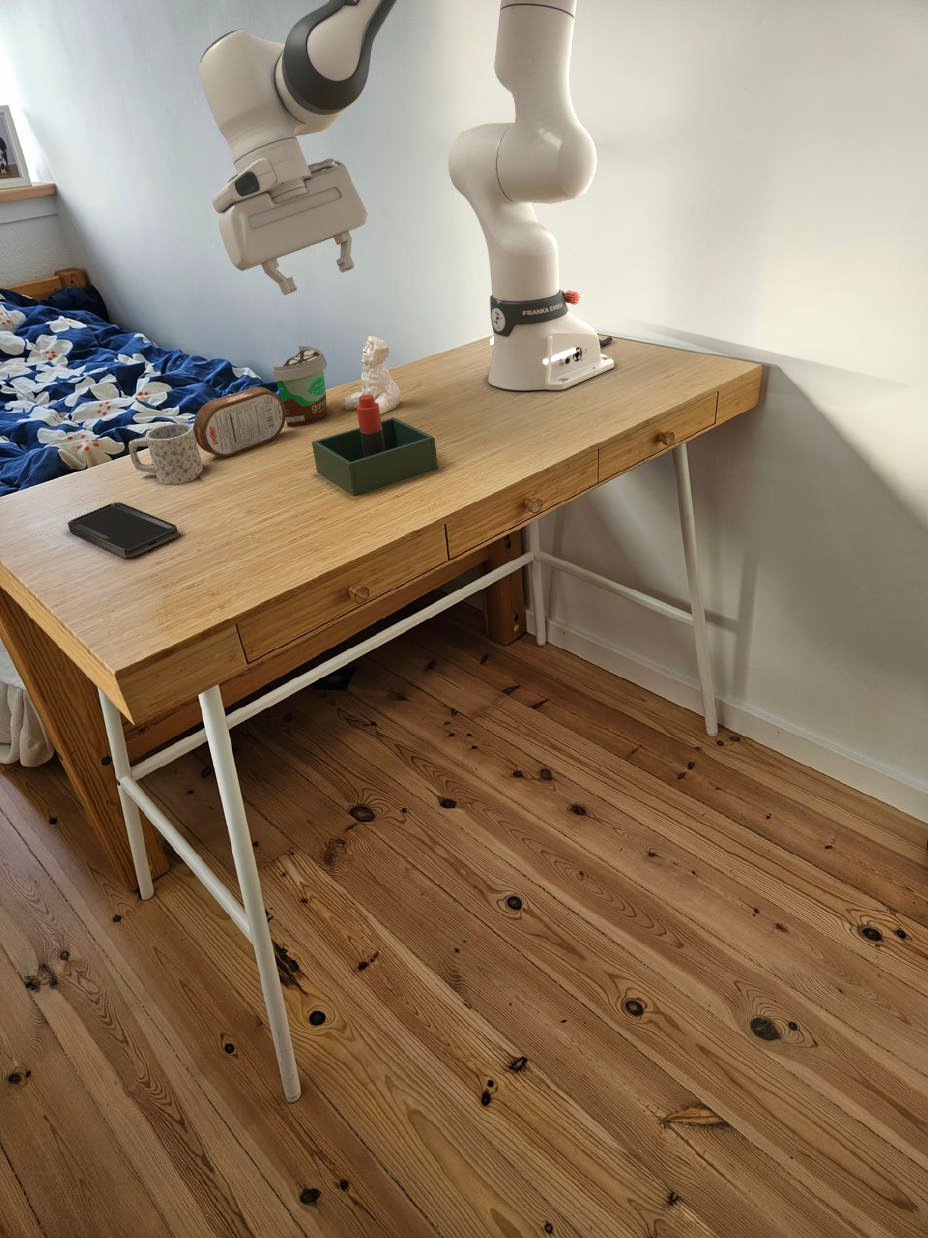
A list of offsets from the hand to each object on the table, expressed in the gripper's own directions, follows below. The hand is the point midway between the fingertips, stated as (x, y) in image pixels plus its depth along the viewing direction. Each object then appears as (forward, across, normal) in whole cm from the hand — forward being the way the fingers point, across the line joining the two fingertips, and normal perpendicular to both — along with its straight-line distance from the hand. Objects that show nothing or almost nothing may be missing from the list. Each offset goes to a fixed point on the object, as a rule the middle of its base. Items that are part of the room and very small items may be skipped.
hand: (319, 281), depth 121 cm
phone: (+19, +38, -4) cm, 43 cm away
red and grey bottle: (+26, +5, +4) cm, 26 cm away
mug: (+16, +26, -18) cm, 36 cm away
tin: (+18, +13, -19) cm, 29 cm away
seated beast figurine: (+21, -10, -18) cm, 29 cm away
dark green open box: (+26, +5, +4) cm, 27 cm away
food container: (+18, -2, -23) cm, 30 cm away
